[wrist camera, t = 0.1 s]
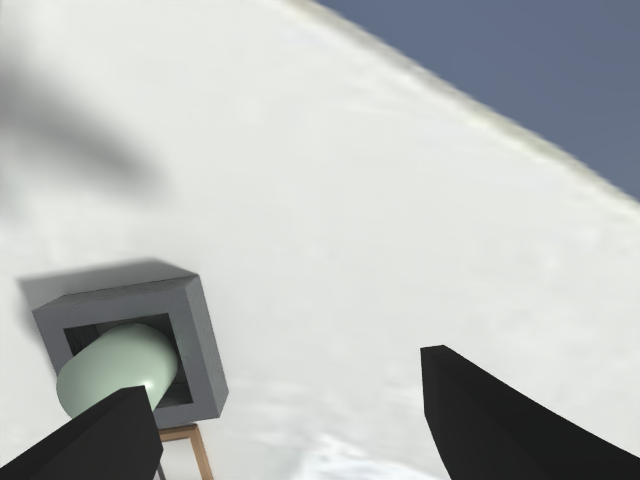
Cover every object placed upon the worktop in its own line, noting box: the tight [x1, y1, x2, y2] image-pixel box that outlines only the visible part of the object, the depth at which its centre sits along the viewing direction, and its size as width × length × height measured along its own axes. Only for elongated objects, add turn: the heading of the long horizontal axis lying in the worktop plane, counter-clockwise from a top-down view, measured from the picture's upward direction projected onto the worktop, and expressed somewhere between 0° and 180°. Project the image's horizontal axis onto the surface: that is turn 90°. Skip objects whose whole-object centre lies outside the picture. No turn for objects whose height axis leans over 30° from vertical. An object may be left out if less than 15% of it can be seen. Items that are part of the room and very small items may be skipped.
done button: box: [56, 323, 178, 419], centre depth 16 cm, size 5×5×3 cm
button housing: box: [32, 275, 229, 427], centre depth 17 cm, size 8×8×2 cm
